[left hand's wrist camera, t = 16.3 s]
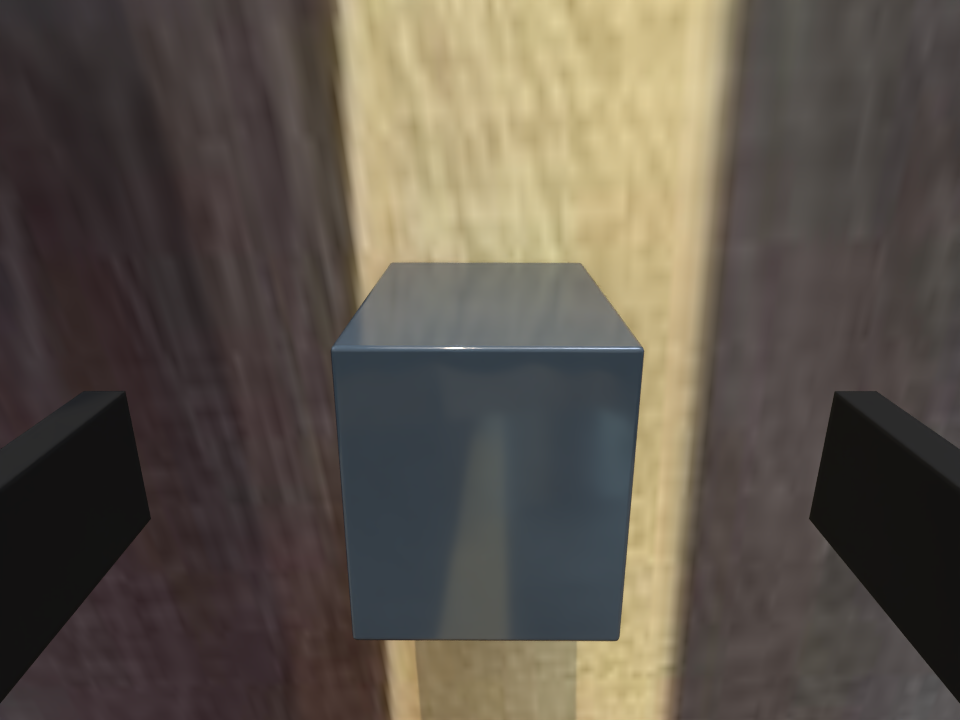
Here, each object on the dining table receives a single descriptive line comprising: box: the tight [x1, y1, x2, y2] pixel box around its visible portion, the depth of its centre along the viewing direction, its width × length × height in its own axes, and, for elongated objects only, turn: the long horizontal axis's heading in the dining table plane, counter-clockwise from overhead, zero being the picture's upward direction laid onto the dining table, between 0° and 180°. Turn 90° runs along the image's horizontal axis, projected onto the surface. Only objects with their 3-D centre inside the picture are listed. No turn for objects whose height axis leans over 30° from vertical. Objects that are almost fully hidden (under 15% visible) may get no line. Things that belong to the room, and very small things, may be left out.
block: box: [331, 263, 644, 641], centre depth 15 cm, size 5×6×7 cm
